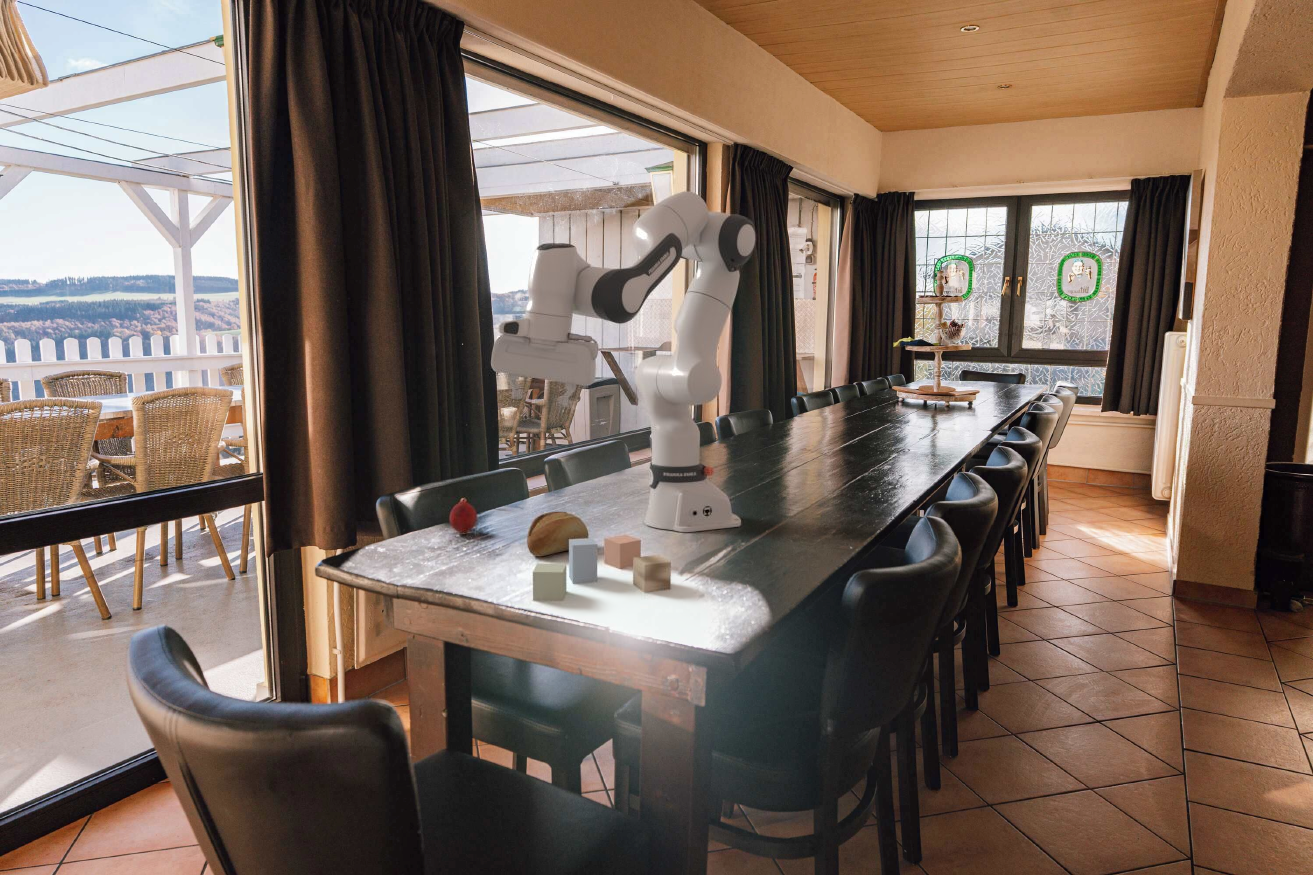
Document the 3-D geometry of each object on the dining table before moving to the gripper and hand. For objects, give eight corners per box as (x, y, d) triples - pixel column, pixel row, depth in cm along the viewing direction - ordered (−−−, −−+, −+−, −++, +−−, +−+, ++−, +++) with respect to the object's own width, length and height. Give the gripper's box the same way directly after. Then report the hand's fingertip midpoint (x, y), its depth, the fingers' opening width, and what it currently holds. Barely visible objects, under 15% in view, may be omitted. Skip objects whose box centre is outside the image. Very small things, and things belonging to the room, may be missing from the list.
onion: (470, 538, 178) (469, 501, 177) (445, 536, 179) (444, 500, 178) (481, 531, 183) (480, 496, 182) (457, 530, 184) (456, 495, 183)
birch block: (658, 581, 149) (658, 554, 148) (670, 589, 144) (670, 561, 144) (633, 584, 147) (633, 557, 146) (644, 593, 142) (644, 564, 142)
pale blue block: (592, 575, 152) (592, 537, 151) (597, 582, 148) (597, 544, 147) (569, 576, 151) (568, 539, 150) (572, 583, 147) (572, 545, 146)
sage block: (566, 591, 143) (566, 563, 142) (563, 601, 138) (562, 572, 137) (537, 591, 143) (537, 563, 142) (533, 601, 138) (532, 571, 137)
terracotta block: (624, 559, 163) (624, 534, 162) (640, 565, 159) (640, 539, 159) (604, 563, 160) (604, 538, 159) (619, 569, 156) (620, 543, 155)
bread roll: (513, 555, 165) (512, 516, 164) (564, 540, 177) (564, 503, 176) (548, 563, 160) (548, 523, 158) (598, 547, 171) (598, 510, 170)
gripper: (604, 337, 156) (596, 409, 159) (505, 323, 161) (498, 393, 163) (594, 337, 150) (585, 412, 153) (491, 322, 155) (484, 395, 157)
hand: (539, 402), depth 158 cm, fingers open, 8 cm apart
